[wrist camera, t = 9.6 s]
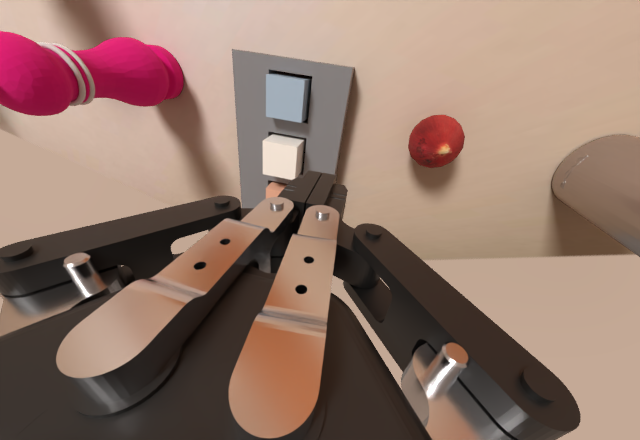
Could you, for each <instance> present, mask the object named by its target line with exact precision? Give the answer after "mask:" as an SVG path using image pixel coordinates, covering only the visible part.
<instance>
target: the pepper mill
mask: <svg viewBox="0 0 640 440" xmlns="http://www.w3.org/2000/svg"><path fill="white" fill-rule="evenodd" d="M182 88H183V74H182V71H181V68H180V66H179V64H178V62H177V61H176V59H175V58H174V57H173V56H172V54H171V53H170V52H168V51H167V50H166V49H164V48H162V47H160V46H156V45H146V44H144V43H142V42H141V41H139V40H136V39H133V38H128V37H118V38H112V39H108V40H106V41H104V42H102V43H101V44H99V45H98V46H96V47H94V48H92V49H88V50H79V51H73V50H70V49H69V48H67V47H65V46H63V45H61V44H58V43H45V42H38V43H36V42H34V41H32V40H30V39H28V38H26V37H23V36H21V35H18V34H15V33H10V32H3V31H0V104H2V105H3V106H5V107H7V108H9V109H12V110H14V111H17V112H20V113H24V114H28V115H35V116H47V115H54V114H58V113H60V112H62V111H64V110H65V109H67V108H68V106H69V105H70V106H77V105H79V104H80V105H85V104H88V103H90V102H91V101H92V100H93V98H111V99H116V100H119V101H122V102H125V103H128V104H131V105H136V106H154V105H157V104H159V103H161V102H162V101H163V100H166V99H172V98H175V97H177V96H178V95H179V94H180V93H181V91H182Z"/></svg>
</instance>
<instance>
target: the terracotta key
mask: <svg viewBox="0 0 640 440" xmlns="http://www.w3.org/2000/svg"><path fill="white" fill-rule="evenodd" d="M286 186H287V184H285V183H280V182H275V181H272V182H271V183H270V184H269V185H268V186H267V188H266V199H267V198H271V197H277V196H278V195H279V194H280V193H281V191H282V190H283V189H284V188H285V187H286Z"/></svg>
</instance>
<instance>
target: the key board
mask: <svg viewBox="0 0 640 440" xmlns="http://www.w3.org/2000/svg"><path fill="white" fill-rule="evenodd" d="M232 58H233V73H234V89H235V105H236V121H237V136H238V152H239V168H240V184H241V199H242V208H255V207H256V206H257V205H258V204H259V203H260V202H262V201H263V200H264V199H266V188H267V186H268V185H269V184H270V183H271V182H272V181H275V182H280V183H285V184H288V183H289V182H290V179H285V178H280V177H275V176H269V175H264V174H263V140H264V139H266V138H267V137H269V136H271V135H272V134H274V133H275V134H276V133H280V134H285V135H291V136H296V137H302V138H307V139H306V149H305V160H304V167H303V168H302V171H301V172H300V174H299V175H298V178H303V177H304V176H305V174H306V173H307V171H308V170H310V171H316V172H322V173H328V174H334V175H336V171H337V166H338V160H339V154H340V148H341V143H342V137H343V131H344V125H345V120H346V114H347V108H348V102H349V97H350V91H351V85H352V79H353V74H354V67H347V66H340V65H334V64H327V63H321V62H314V61H308V60H301V59H294V58H288V57H281V56H275V55H268V54H262V53H255V52H249V51H242V50H234V49H232ZM277 71H282V72H289V73H295V74H301V75H308V76H312V85H311V96H310V106H309V117H308V119H306V120H304V121H303V122H302V123H299V122H293V121H288V120H282V119H276V118H271V117H266V74H277Z"/></svg>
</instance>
